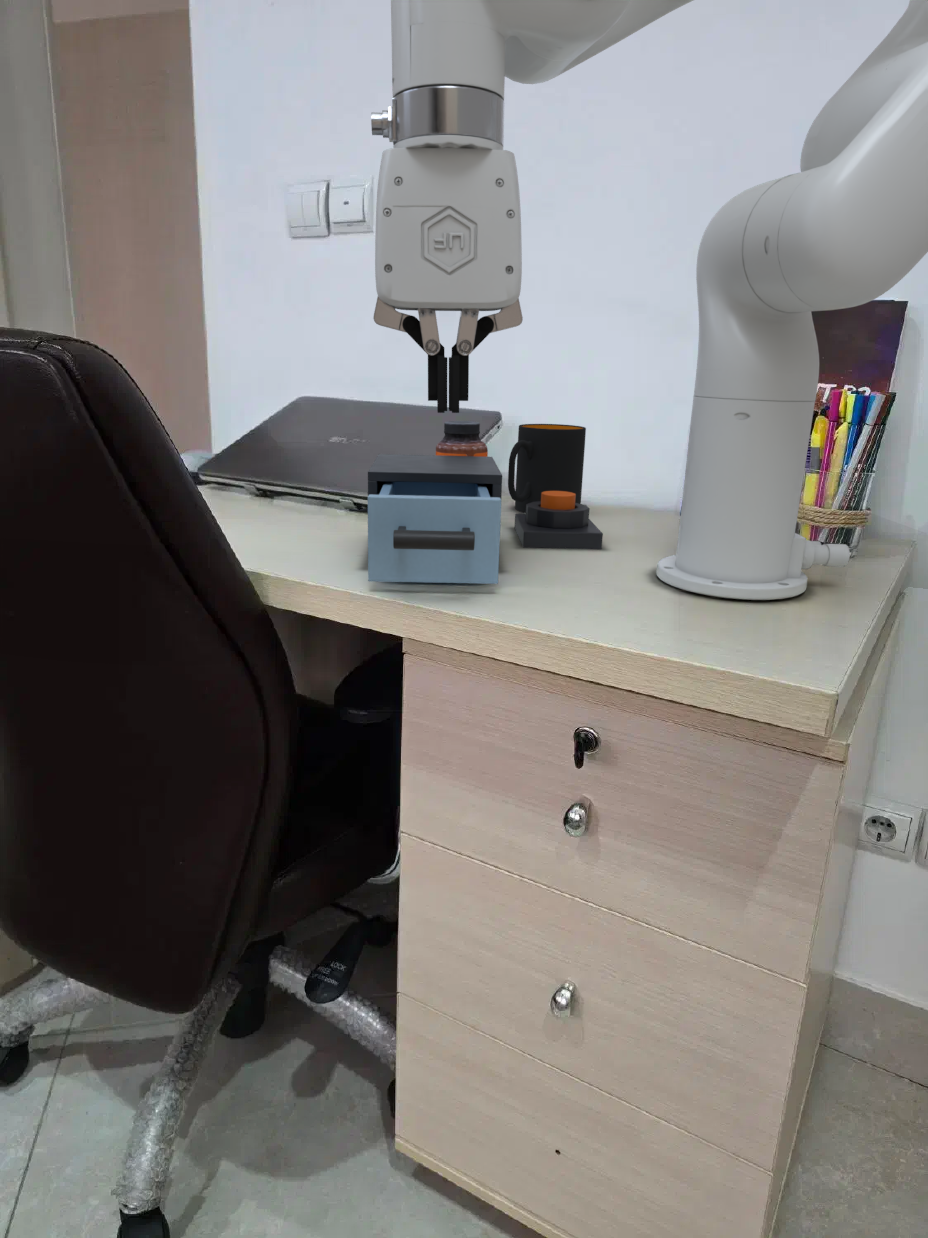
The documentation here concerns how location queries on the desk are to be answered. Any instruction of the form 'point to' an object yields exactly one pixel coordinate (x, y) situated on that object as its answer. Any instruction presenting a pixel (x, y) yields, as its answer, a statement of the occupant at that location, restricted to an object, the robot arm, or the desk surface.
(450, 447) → the supplement bottle
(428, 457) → the drawer cabinet
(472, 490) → the light blue drawer
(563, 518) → the panel
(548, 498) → the release button
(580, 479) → the mug
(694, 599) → the desk surface
